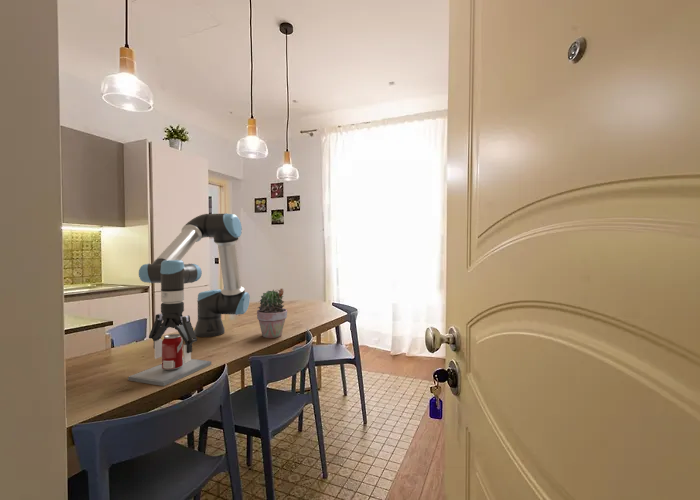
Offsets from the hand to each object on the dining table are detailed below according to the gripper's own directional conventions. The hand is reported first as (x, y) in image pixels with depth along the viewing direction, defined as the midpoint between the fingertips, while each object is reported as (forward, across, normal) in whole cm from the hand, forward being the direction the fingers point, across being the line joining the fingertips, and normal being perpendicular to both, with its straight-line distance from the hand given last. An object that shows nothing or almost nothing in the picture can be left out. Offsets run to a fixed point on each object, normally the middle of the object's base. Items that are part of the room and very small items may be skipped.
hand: (172, 359), depth 123 cm
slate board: (+4, 0, 0) cm, 4 cm away
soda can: (+3, 0, 0) cm, 3 cm away
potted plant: (+5, +6, +57) cm, 57 cm away
